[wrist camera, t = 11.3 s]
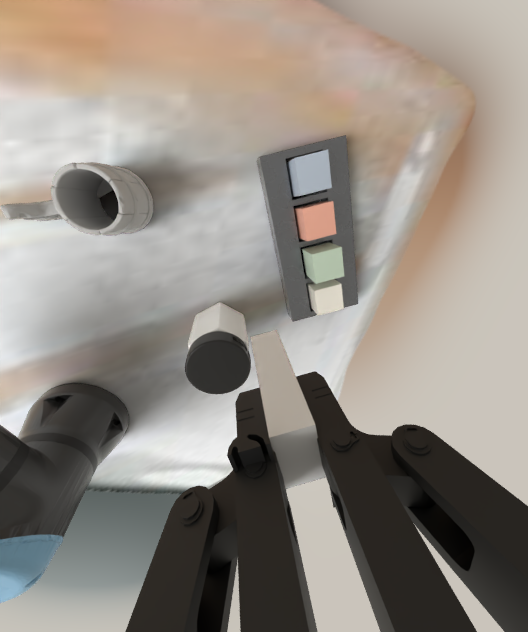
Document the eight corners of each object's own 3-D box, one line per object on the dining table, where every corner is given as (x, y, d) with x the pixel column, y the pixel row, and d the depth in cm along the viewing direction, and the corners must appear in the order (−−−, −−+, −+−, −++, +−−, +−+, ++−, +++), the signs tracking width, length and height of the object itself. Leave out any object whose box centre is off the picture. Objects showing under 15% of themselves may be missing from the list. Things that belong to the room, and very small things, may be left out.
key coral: (298, 237, 37) (307, 241, 33) (293, 208, 35) (302, 208, 31) (324, 230, 37) (336, 233, 33) (320, 201, 35) (333, 200, 31)
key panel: (288, 314, 43) (292, 321, 40) (256, 160, 33) (259, 156, 30) (349, 297, 43) (358, 303, 40) (336, 140, 33) (346, 135, 31)
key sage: (306, 275, 38) (316, 283, 34) (302, 249, 36) (311, 254, 32) (331, 268, 38) (344, 276, 34) (328, 242, 36) (341, 246, 32)
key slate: (291, 196, 34) (300, 195, 30) (285, 163, 33) (294, 157, 29) (319, 189, 34) (331, 187, 30) (315, 156, 33) (328, 149, 29)
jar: (244, 349, 44) (250, 395, 34) (196, 350, 43) (187, 399, 32) (245, 301, 41) (252, 336, 30) (194, 301, 40) (182, 338, 29)
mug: (164, 226, 35) (136, 236, 24) (77, 242, 34) (8, 260, 23) (144, 163, 32) (101, 141, 21) (47, 179, 31) (-49, 165, 20)
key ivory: (309, 304, 41) (318, 315, 37) (305, 282, 40) (314, 291, 36) (332, 298, 41) (343, 308, 37) (329, 275, 40) (341, 283, 36)
